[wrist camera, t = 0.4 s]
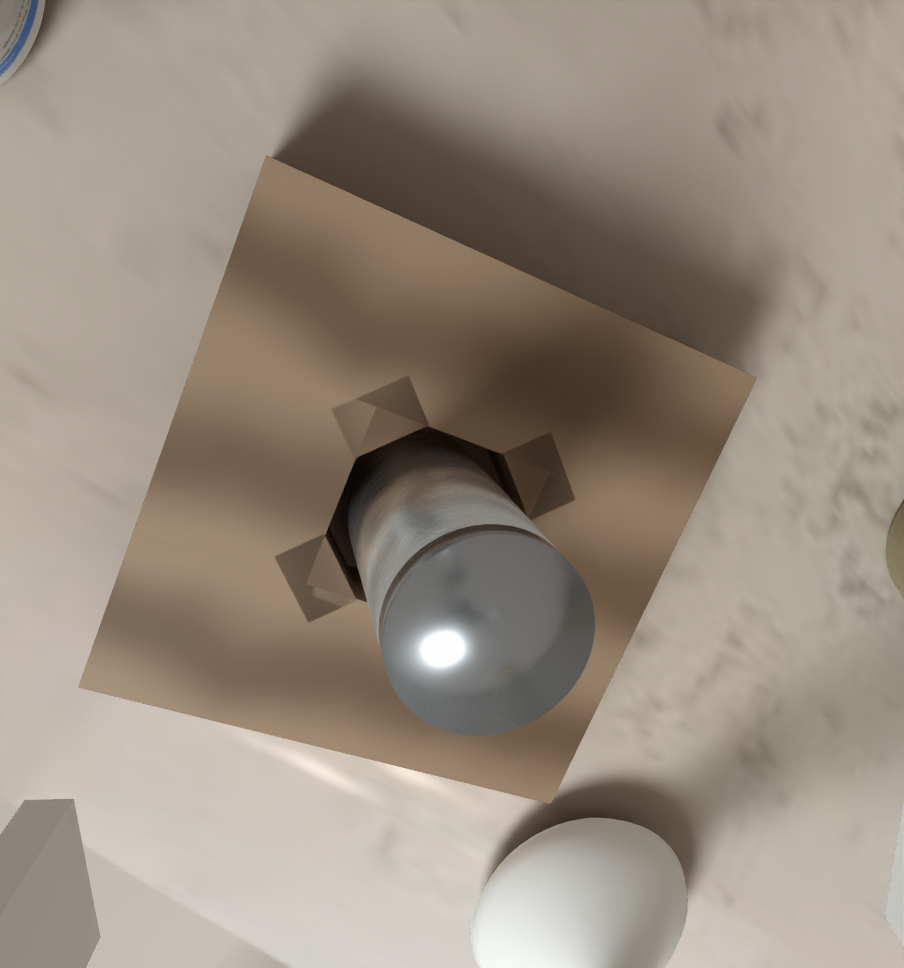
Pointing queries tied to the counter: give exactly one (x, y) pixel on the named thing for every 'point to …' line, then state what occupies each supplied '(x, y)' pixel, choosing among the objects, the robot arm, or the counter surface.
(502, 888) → the flower in vase
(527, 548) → the silver capped jar
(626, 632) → the walnut socket block
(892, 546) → the plant pot
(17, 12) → the supplement tub
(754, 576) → the counter surface
